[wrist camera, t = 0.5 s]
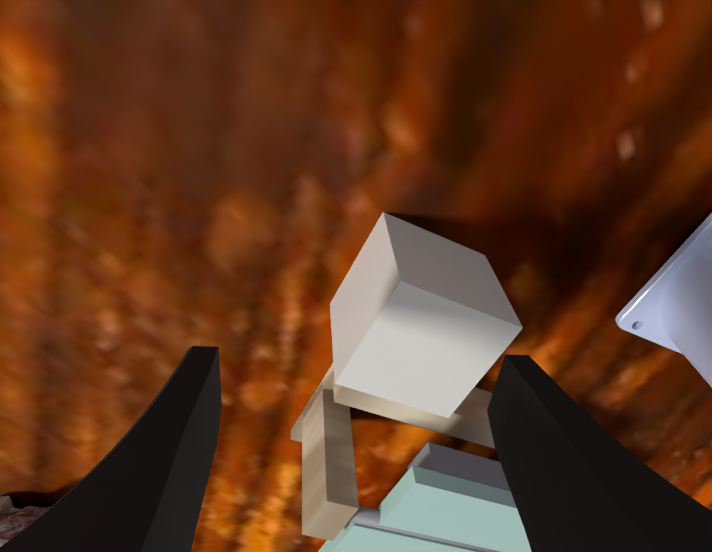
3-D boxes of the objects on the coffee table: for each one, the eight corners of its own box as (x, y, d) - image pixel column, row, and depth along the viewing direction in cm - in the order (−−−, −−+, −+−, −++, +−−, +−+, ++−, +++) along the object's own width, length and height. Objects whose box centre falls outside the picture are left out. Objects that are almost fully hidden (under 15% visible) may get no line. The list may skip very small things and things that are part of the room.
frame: (571, 418, 30) (631, 533, 24) (504, 486, 33) (544, 602, 27) (344, 344, 25) (355, 462, 20) (290, 430, 28) (287, 553, 23)
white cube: (484, 254, 23) (522, 328, 19) (425, 336, 26) (448, 418, 22) (382, 211, 22) (400, 280, 18) (329, 302, 24) (334, 383, 20)
